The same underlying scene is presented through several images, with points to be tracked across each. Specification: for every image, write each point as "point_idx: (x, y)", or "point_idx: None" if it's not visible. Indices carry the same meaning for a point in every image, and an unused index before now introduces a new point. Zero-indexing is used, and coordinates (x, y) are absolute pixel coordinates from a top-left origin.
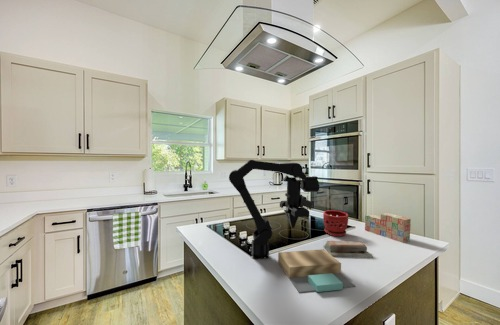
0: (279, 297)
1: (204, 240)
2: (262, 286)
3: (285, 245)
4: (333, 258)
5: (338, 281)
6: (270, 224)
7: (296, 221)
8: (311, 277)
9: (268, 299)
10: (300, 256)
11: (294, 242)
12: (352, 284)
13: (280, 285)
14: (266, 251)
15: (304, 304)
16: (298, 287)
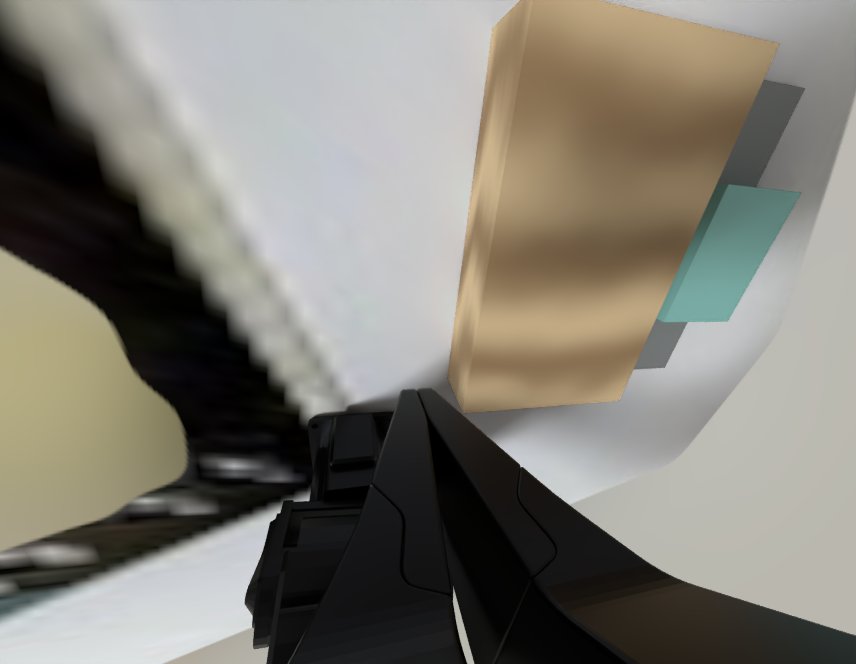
0: (641, 421)
1: (150, 633)
2: (577, 453)
3: (178, 250)
4: (705, 49)
5: (781, 205)
6: (308, 617)
7: (513, 459)
8: (683, 315)
9: (631, 446)
10: (558, 308)
11: (58, 106)
12: (789, 97)
13: (600, 407)
14: (378, 439)
15: (703, 368)
16: (648, 361)
